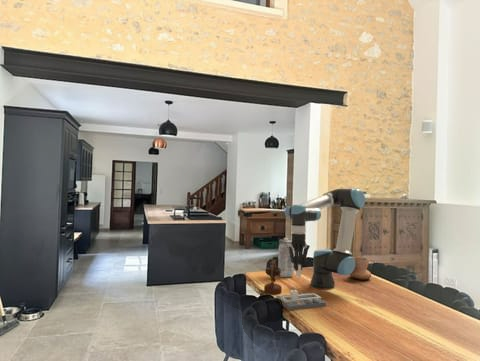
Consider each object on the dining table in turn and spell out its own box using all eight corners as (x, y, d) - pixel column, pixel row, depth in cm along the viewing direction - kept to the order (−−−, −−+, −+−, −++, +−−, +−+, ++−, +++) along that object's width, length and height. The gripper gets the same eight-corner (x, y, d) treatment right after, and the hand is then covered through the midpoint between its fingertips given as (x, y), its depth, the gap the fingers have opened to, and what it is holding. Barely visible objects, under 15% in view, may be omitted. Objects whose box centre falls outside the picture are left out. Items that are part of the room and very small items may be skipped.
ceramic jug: (364, 275, 231) (364, 255, 231) (377, 280, 217) (376, 259, 217) (342, 276, 227) (342, 257, 227) (354, 282, 212) (353, 261, 213)
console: (310, 296, 183) (310, 290, 183) (326, 306, 167) (326, 299, 168) (276, 299, 176) (276, 293, 176) (289, 310, 161) (289, 303, 161)
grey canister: (294, 277, 221) (294, 239, 221) (279, 277, 221) (279, 239, 222) (292, 274, 230) (292, 237, 230) (277, 274, 230) (278, 237, 230)
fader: (295, 297, 173) (295, 289, 173) (298, 300, 169) (298, 291, 170) (289, 298, 172) (290, 290, 172) (292, 300, 168) (293, 292, 169)
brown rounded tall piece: (283, 295, 183) (281, 261, 183) (264, 297, 183) (262, 262, 184) (280, 287, 198) (278, 255, 199) (263, 288, 198) (261, 256, 199)
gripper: (305, 231, 178) (305, 273, 177) (284, 232, 174) (284, 275, 173) (312, 233, 171) (312, 276, 170) (290, 234, 167) (290, 279, 166)
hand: (298, 276), depth 172 cm, fingers closed
